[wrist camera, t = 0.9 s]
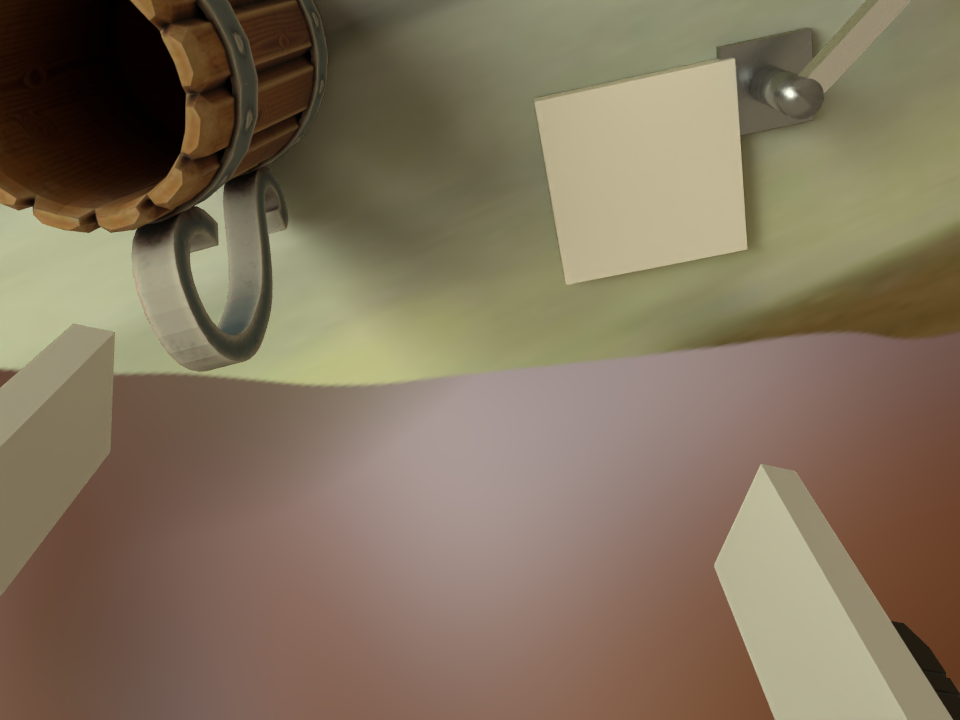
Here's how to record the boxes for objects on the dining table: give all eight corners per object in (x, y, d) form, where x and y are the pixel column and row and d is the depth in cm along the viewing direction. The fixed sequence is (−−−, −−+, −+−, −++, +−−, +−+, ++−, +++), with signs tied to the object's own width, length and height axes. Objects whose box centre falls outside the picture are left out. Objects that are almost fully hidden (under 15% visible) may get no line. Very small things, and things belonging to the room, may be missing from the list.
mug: (53, -42, 34) (-220, -50, 21) (282, -117, 33) (149, -176, 20) (202, 286, 41) (67, 440, 28) (397, 233, 40) (357, 367, 26)
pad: (533, 98, 37) (534, 101, 36) (728, 56, 36) (735, 58, 35) (564, 278, 41) (566, 285, 40) (741, 243, 40) (747, 249, 39)
